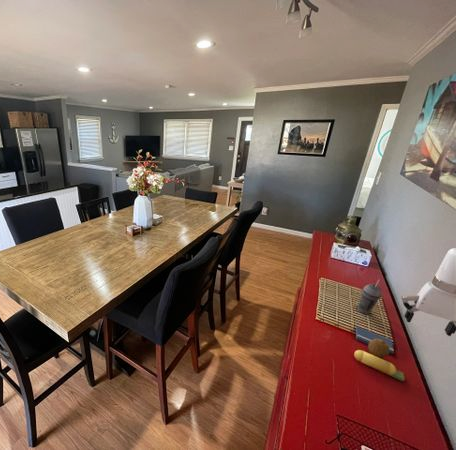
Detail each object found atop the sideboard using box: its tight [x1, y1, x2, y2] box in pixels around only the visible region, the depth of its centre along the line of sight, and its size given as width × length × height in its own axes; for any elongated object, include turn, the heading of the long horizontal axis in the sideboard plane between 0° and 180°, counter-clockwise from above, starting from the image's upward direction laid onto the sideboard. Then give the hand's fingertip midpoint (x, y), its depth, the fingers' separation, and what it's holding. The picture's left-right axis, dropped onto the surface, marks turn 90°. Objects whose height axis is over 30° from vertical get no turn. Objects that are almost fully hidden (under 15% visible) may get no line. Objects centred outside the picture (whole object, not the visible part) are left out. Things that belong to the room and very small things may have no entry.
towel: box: [355, 326, 395, 356], centre depth 104 cm, size 12×8×2 cm, turn 52°
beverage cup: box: [357, 278, 383, 315], centre depth 117 cm, size 7×7×20 cm
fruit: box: [367, 339, 390, 359], centre depth 96 cm, size 6×6×8 cm
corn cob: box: [353, 349, 405, 382], centre depth 92 cm, size 15×4×4 cm, turn 52°
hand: (426, 326), depth 83 cm, fingers open, 9 cm apart
